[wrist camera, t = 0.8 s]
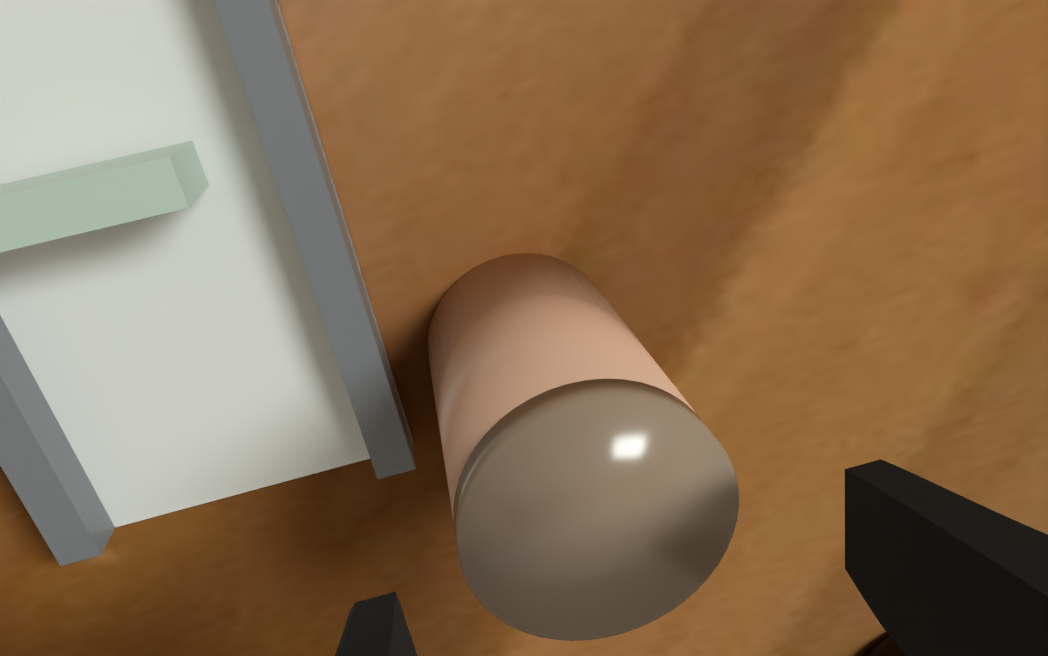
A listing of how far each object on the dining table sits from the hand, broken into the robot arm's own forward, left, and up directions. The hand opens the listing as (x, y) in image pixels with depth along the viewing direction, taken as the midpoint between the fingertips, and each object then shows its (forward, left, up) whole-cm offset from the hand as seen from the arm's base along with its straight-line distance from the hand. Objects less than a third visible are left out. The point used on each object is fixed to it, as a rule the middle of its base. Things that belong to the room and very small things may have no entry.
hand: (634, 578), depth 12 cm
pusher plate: (-8, +6, -9) cm, 13 cm away
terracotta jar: (0, 0, -9) cm, 9 cm away
